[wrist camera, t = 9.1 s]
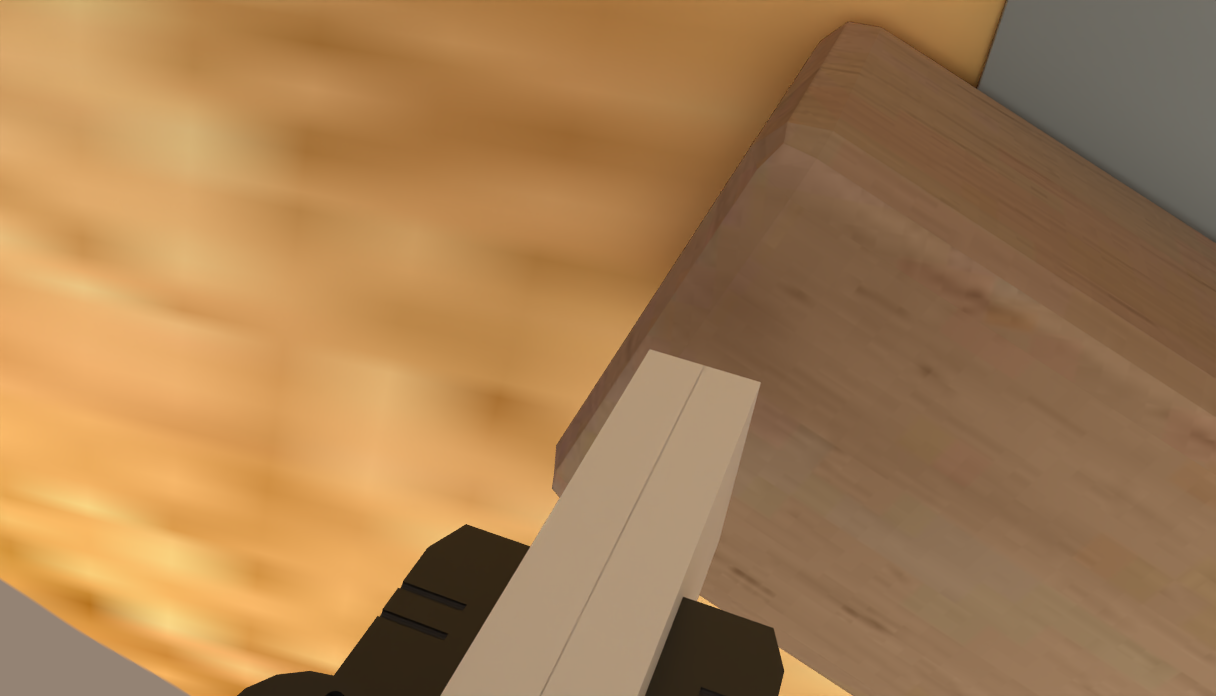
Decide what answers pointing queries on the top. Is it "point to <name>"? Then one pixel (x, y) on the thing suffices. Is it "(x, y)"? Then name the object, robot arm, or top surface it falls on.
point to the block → (950, 395)
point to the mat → (1119, 91)
